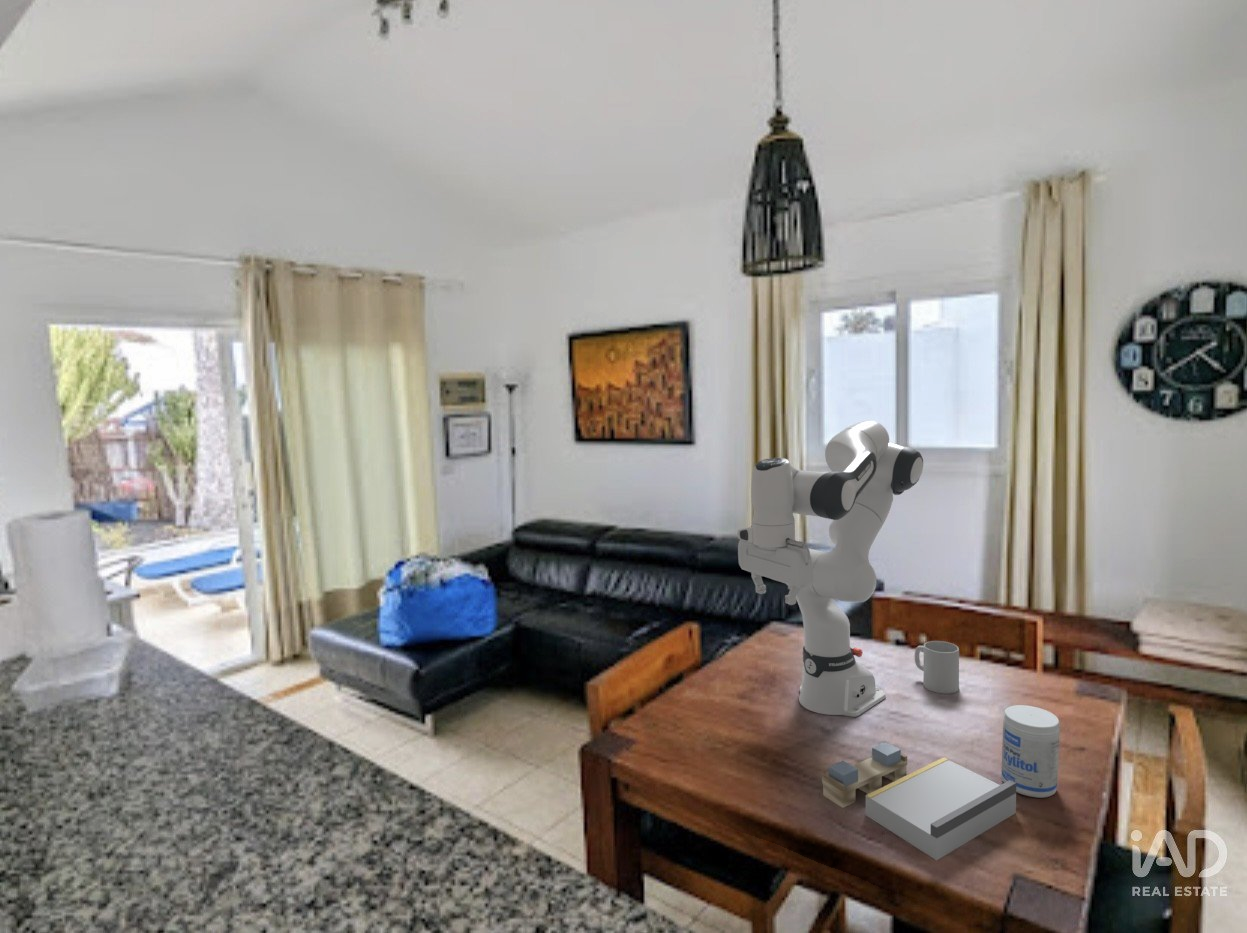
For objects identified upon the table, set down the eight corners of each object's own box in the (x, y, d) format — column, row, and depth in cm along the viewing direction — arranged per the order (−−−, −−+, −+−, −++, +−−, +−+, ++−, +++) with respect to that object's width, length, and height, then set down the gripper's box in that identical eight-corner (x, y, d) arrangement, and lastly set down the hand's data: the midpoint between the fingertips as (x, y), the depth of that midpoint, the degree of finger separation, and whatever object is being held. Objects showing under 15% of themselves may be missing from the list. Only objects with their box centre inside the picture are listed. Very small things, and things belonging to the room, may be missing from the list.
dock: (943, 775, 141) (943, 748, 141) (1015, 813, 128) (1016, 782, 128) (865, 815, 130) (865, 785, 129) (936, 860, 117) (936, 827, 116)
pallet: (887, 765, 146) (886, 745, 146) (907, 776, 142) (907, 755, 141) (822, 795, 137) (822, 774, 136) (841, 808, 133) (841, 786, 132)
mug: (966, 688, 180) (966, 647, 178) (945, 697, 175) (945, 655, 174) (925, 672, 190) (925, 634, 189) (905, 681, 186) (904, 641, 184)
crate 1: (843, 772, 139) (843, 760, 138) (858, 781, 135) (858, 769, 135) (828, 778, 137) (828, 766, 136) (843, 787, 133) (843, 775, 133)
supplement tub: (996, 788, 136) (997, 718, 134) (1007, 767, 143) (1008, 699, 142) (1053, 806, 130) (1055, 732, 128) (1061, 782, 137) (1063, 712, 135)
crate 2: (885, 753, 145) (885, 741, 144) (900, 761, 141) (900, 749, 141) (872, 758, 143) (872, 747, 142) (887, 767, 139) (887, 755, 139)
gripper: (820, 541, 139) (821, 607, 141) (754, 525, 157) (756, 584, 158) (796, 546, 136) (798, 613, 138) (732, 529, 154) (734, 590, 155)
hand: (775, 598), depth 148 cm, fingers open, 8 cm apart
